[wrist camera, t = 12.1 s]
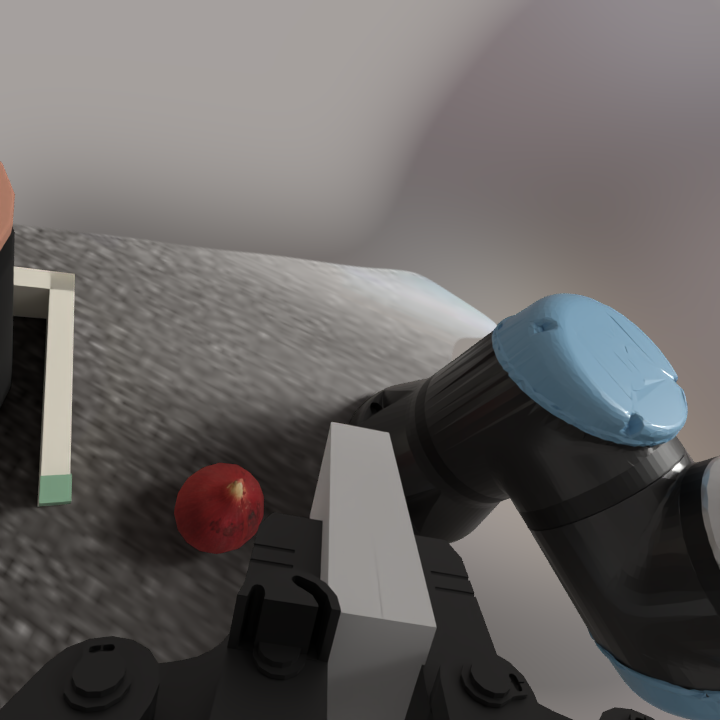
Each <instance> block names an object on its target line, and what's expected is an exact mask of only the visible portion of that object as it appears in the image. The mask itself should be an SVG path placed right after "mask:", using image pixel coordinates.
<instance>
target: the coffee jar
mask: <svg viewBox="0 0 720 720" xmlns="http://www.w3.org/2000/svg"><path fill="white" fill-rule="evenodd" d="M14 198H15V194H14V191H13V189H12V186H11V184H10V181H9V179H8V177H7V174H6V172H5V169H4V167H3V164H2V163H1V162H0V407H1V405H2V403H3V401H4V399H5V397H6V395H7V393H8V391H9V389H10V387H11V376H12V351H13V292H14V234H15V232H14V230H13V227H12V225H13V211H14Z"/></svg>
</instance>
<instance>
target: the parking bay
mask: <svg viewBox="0 0 720 720" xmlns="http://www.w3.org/2000/svg"><path fill="white" fill-rule="evenodd" d="M74 288H75V274H70V273H62V272H54V271H46V270H38V269H30V268H22V267H14V292H13V316H19V317H31V318H43V319H47V321H46V342H45V362H44V383H43V403H42V424H41V444H40V465H39V485H38V506H51V505H63V504H70V503H71V490H72V474H70V457H71V414H72V372H73V330H74ZM38 506H37V507H38Z"/></svg>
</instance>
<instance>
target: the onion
mask: <svg viewBox="0 0 720 720" xmlns="http://www.w3.org/2000/svg"><path fill="white" fill-rule="evenodd" d="M263 514H264V496H263V493H262V490H261V488H260V485H259V482H258V481H257V480H256V479H255V478H254V477H253V476H252V475H251V473H250V472H248V471H247V470H245V469H243V468H242V467H240V466H239V465H236V464H227V463H217V464H213V465H209V466H206V467H203V468H201V469H200V470H198V471H197V472H196V473H194V474H193V475H191V476H190V477H189V478H188V479H187V480H186V482H185V483H184V485H183V486H182V488H181V489H180V491H179V492H178V495H177V500H176V505H175V510H174V515H175V520H176V524H177V529H178V531H179V532H180V534H181V535H182V536H183V538H184V539H185V541H186V542H187V543H188V544H190V545H191V546H193V547H194V548H196V549H198V550H199V551H202V552H208V553H214V554H219V553H224V552H228V551H232V550H235V549H239V548H240V547H241V546H242V545H244V544H245V543H246V542H247V541H248V540H249V539H251V538H252V537H253V536H254V535H255V533H256V532H257V530H258V527H259V525H260V523H261V520H262V518H263Z"/></svg>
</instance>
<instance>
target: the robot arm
mask: <svg viewBox="0 0 720 720" xmlns="http://www.w3.org/2000/svg"><path fill="white" fill-rule="evenodd" d="M677 379H678V377H677V374H676V373H675V371H674V369H673V368H672V366H671V364H670V363H669V362H668V360H667V359H666V357H665V356H664V355H663V354H662V352H661V351H660V349H659V348H658V347H657V346H656V345H655V344H654V343H653V342H652V340H651V339H650V338H648V337H647V335H645V333H643V331H642V330H641V329H639V328H638V327H637V326H636V325H635V324H634V323H632V322H631V321H630V320H628V319H627V318H626V317H625V316H623V315H622V314H620V313H619V312H617V311H616V310H614V309H613V308H611V307H609V306H607V305H604V304H602V303H600V302H598V301H596V300H594V299H592V298H589V297H585V296H582V295H577V294H567V293H566V294H565V293H563V294H554V295H550V296H547V297H544V298H542V299H540V300H538V301H536V302H535V303H533V304H532V305H530V306H528V307H527V308H525V309H524V310H522V311H521V312H519V313H517V314H516V315H513V316H510V317H507V318H505V319H504V320H502V321H501V322H500V323H499V324H498V325H497V327H496V328H495V329H494V331H492V332H491V333H489V334H488V335H487V336H485V337H484V338H483V339H482V340H480V341H479V342H477V343H476V344H475V345H474V346H472V347H471V348H469V349H468V350H467V351H465V352H464V353H463V354H461V355H460V356H459V357H457V358H456V359H455V360H453V361H452V362H450V363H449V364H448V365H446V366H445V367H443V368H442V369H441V370H439V371H438V372H437V373H435V374H434V375H433V376H431V377H430V378H427V379H422V380H417V381H413V382H408V383H403V384H399V385H394V386H391V387H388V388H386V389H384V390H382V391H380V392H378V393H377V394H375V395H374V396H373V397H371V398H370V399H369V400H368V401H366V402H365V403H364V404H363V405H362V406H361V407H360V408H359V409H358V410H357V411H356V413H355V414H354V416H353V417H352V419H351V421H350V423H349V425H346V424H341V423H336V422H331V425H330V430H329V434H328V438H327V443H326V447H325V452H324V456H323V460H322V465H321V469H320V474H319V478H318V482H317V487H316V491H315V496H314V500H313V504H312V509H311V513H310V518H304V517H298V516H292V515H287V514H281V513H275V512H273V513H272V514H270V515H269V516H268V517H267V518H266V519H265V520H264V521H263V522H262V523H261V524H260V525H259V527H258V531H257V535H256V539H255V543H254V547H253V551H252V555H251V559H250V563H249V567H248V571H247V575H246V580H245V582H244V584H243V586H242V587H241V589H240V591H239V593H238V595H237V600H236V605H235V610H234V615H233V620H232V625H231V630H230V634H229V635H228V636H227V637H226V638H225V640H224V641H223V642H222V643H221V644H219V645H218V646H217V647H215V648H214V649H213V650H211V651H209V652H207V653H204V654H202V655H200V656H198V657H194V658H190V659H186V660H182V661H175V662H167V663H160V664H158V662H157V661H156V659H155V658H154V656H153V655H152V653H151V651H150V650H149V649H147V648H146V647H144V646H142V645H141V644H139V643H137V642H136V641H134V640H130V639H125V638H119V637H114V636H111V637H102V638H94V639H88V640H86V641H83V642H81V643H78V644H75V645H73V646H70V647H68V648H66V649H65V650H63V651H62V652H61V653H59V654H58V655H57V656H55V657H54V658H53V659H51V660H50V661H49V662H47V663H46V664H45V665H44V666H43V667H42V668H41V669H40V670H39V671H38V672H37V673H36V674H35V675H34V676H33V677H32V678H31V679H30V680H29V681H28V682H27V683H26V684H25V685H24V686H23V687H22V688H21V689H20V690H19V691H18V692H17V693H16V694H15V695H14V696H13V697H12V698H11V699H10V700H9V701H8V702H7V704H6V705H5V706H4V707H3V708H2V709H1V710H0V720H572V719H570V718H568V717H565V716H563V715H561V714H558V713H556V712H554V711H552V710H550V709H548V708H546V707H544V706H542V705H540V704H539V703H538V702H537V700H536V697H535V695H534V693H533V691H532V689H531V687H530V686H529V684H528V683H527V681H526V679H525V678H524V676H523V675H522V674H521V673H520V672H519V671H518V670H517V669H516V668H515V667H514V666H512V664H511V663H509V662H508V661H506V660H505V659H503V658H501V657H500V656H498V655H497V654H496V651H495V648H494V646H493V643H492V640H491V637H490V634H489V632H488V629H487V626H486V624H485V621H484V618H483V615H482V613H481V610H480V607H479V605H478V602H477V599H476V597H474V591H473V588H472V585H471V583H470V581H468V574H467V572H466V569H465V566H464V564H463V561H462V558H461V557H460V556H459V555H458V554H457V552H456V551H454V549H453V548H452V547H451V546H450V545H449V543H452V542H455V541H458V540H460V539H462V538H464V537H465V536H467V535H468V534H470V533H471V532H472V531H473V530H474V529H475V528H476V527H477V526H478V525H479V524H480V523H481V522H482V521H483V520H484V519H485V518H486V517H487V516H488V515H489V514H490V512H491V511H492V510H493V509H494V508H495V507H496V506H497V505H498V504H499V503H500V502H501V501H503V500H506V499H509V498H510V499H511V500H512V502H513V504H514V505H515V507H516V509H517V510H518V511H519V513H520V515H521V516H522V518H523V520H524V521H525V523H526V525H527V526H528V528H529V530H530V531H531V533H532V535H533V536H534V538H535V540H536V541H537V543H538V545H539V546H540V548H541V550H542V551H543V553H544V555H545V557H546V558H547V560H548V561H549V563H550V565H551V567H552V569H553V570H554V572H555V574H556V575H557V577H558V579H559V580H560V582H561V584H562V585H563V587H564V589H565V591H566V592H567V594H568V596H569V597H570V599H571V601H572V602H573V604H574V606H575V608H576V609H577V611H578V613H579V614H580V616H581V618H582V619H583V621H584V623H585V624H586V626H587V628H588V631H589V633H590V636H591V638H592V639H593V640H594V641H595V643H596V645H597V647H598V648H599V649H600V650H601V652H602V653H603V654H604V655H605V656H606V657H607V658H608V659H609V660H610V662H611V663H612V665H613V666H614V667H615V669H616V670H617V672H618V673H619V675H620V676H621V678H622V679H623V680H624V682H625V683H626V684H627V685H628V686H629V687H630V688H631V689H632V691H634V692H635V693H636V694H637V695H638V696H639V697H641V698H642V699H643V700H645V701H646V702H648V703H649V704H651V705H653V706H655V707H657V708H658V709H660V710H663V711H665V712H667V713H670V714H673V715H676V716H679V717H682V718H686V719H691V720H720V456H717V457H714V458H711V459H708V460H705V461H701V462H697V463H696V462H694V461H693V459H692V458H691V457H690V455H689V454H688V453H687V451H686V450H685V448H684V447H683V445H682V444H681V442H680V441H679V439H678V438H677V437H676V435H677V434H678V432H679V431H680V430H681V428H682V427H683V426H684V424H685V421H686V419H687V402H686V397H685V394H684V390H683V389H682V388H680V387H679V386H678V385H677V384H676V381H677ZM600 720H654V719H653V718H651V717H649V716H646V715H644V714H642V713H639V712H637V711H634V710H632V709H624V708H612V709H610V710H607V711H605V712H603V713H602V716H601V717H600Z"/></svg>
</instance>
